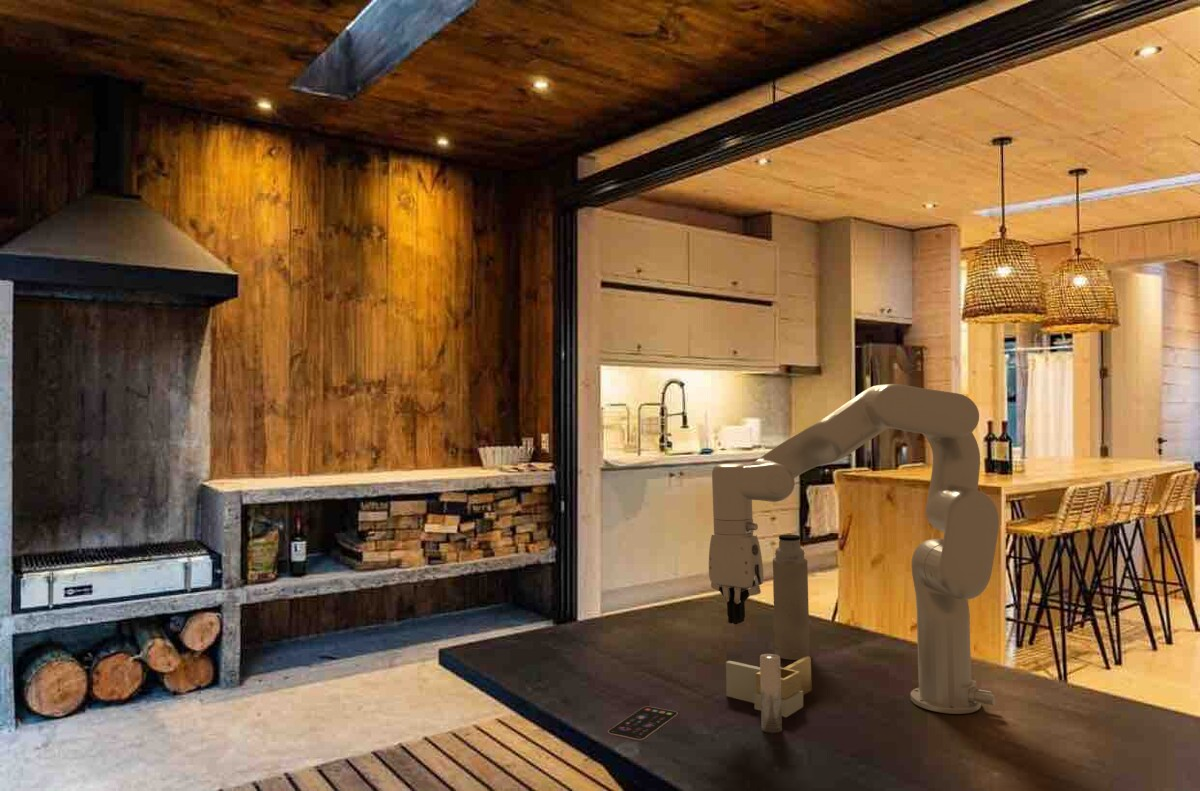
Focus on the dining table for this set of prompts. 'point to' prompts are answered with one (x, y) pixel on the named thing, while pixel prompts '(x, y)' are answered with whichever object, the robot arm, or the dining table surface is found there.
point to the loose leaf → (744, 688)
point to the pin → (770, 693)
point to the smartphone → (643, 723)
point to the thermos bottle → (790, 599)
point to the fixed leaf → (793, 678)
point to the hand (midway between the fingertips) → (736, 622)
